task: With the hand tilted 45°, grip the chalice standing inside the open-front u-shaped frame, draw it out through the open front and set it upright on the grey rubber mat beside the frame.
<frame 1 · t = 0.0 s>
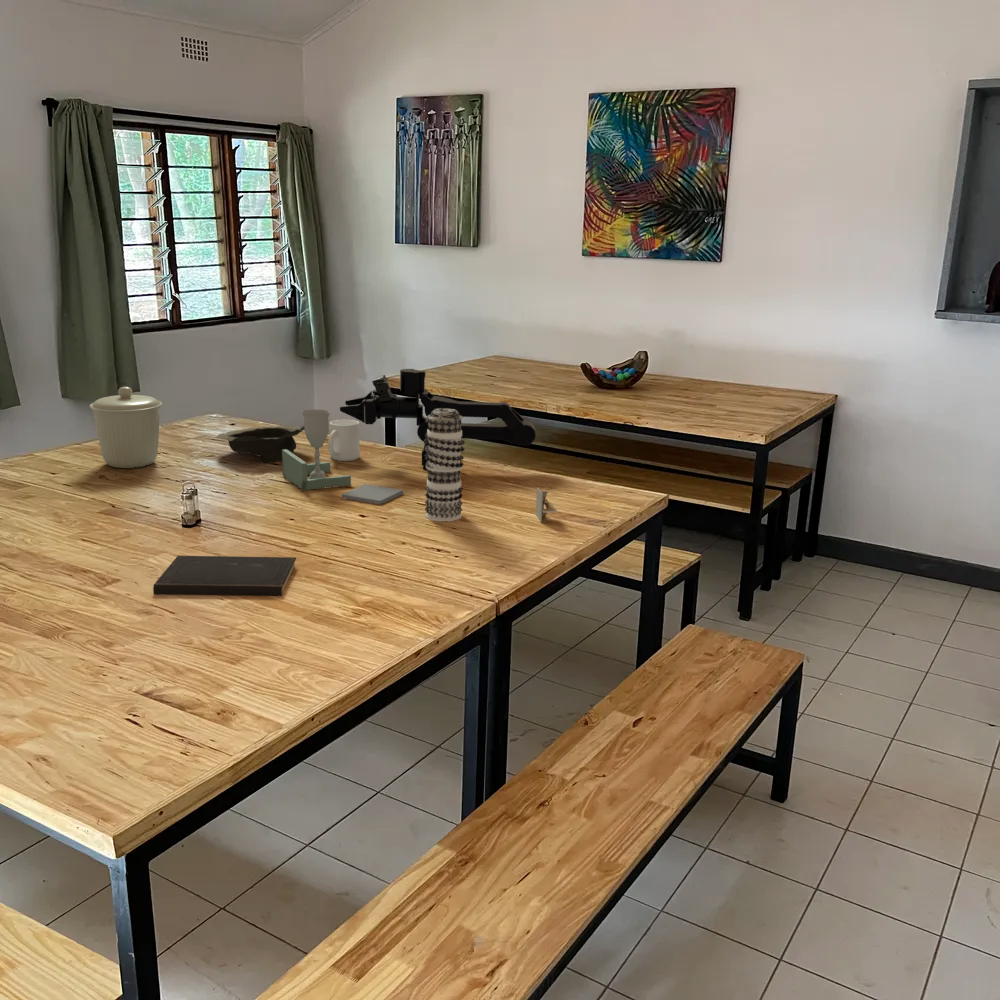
hand: (342, 405, 265), 17 cm above the table, tool horizontal, fingers open, 9 cm apart
rubber mat: (372, 496, 241), on the table
decorative candle: (443, 517, 227), on the table
grey angled bracket piece: (542, 522, 227), on the table
stone bowl: (261, 456, 277), on the table
chalice: (317, 481, 253), on the table
u-shaped frame: (317, 480, 253), on the table
canister: (131, 464, 264), on the table
hardcover book: (228, 583, 185), on the table
mug: (341, 460, 276), on the table
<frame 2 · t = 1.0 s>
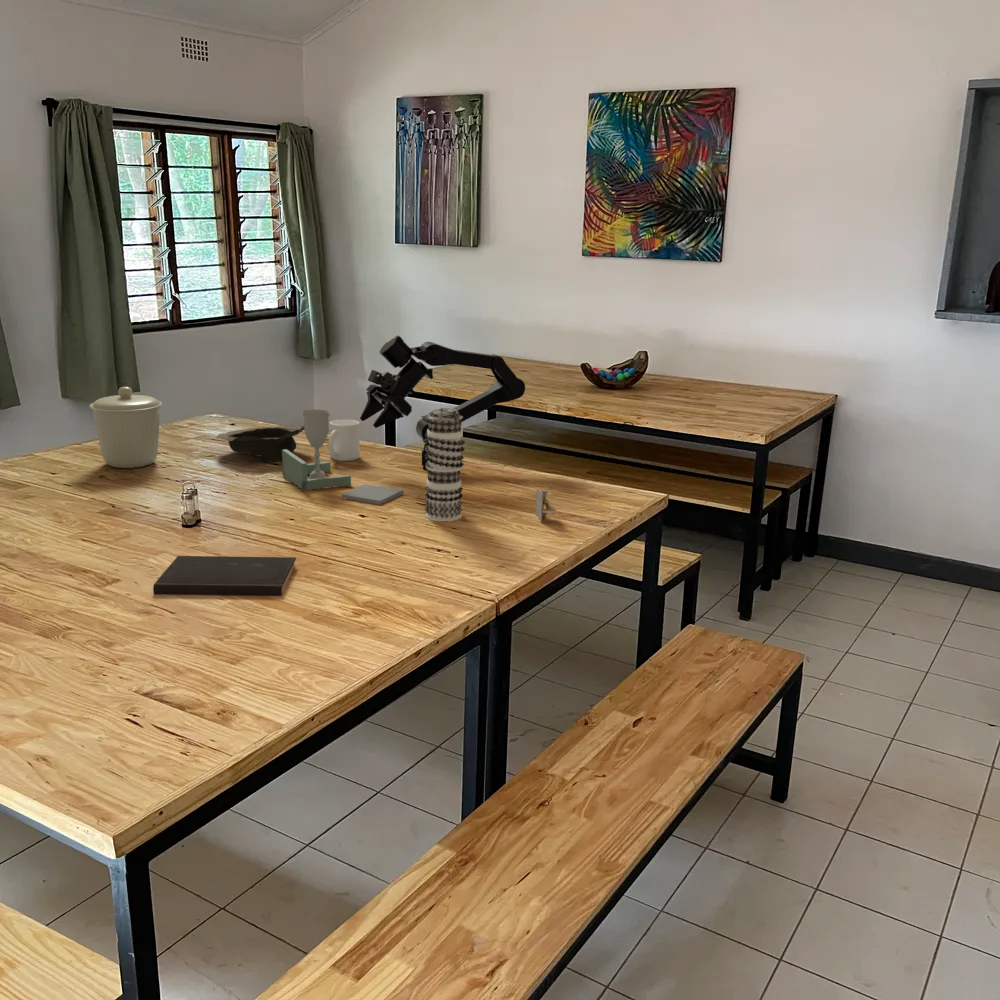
hand: (367, 423, 258), 14 cm above the table, tool tilted 45°, fingers open, 9 cm apart
nothing on the table moved.
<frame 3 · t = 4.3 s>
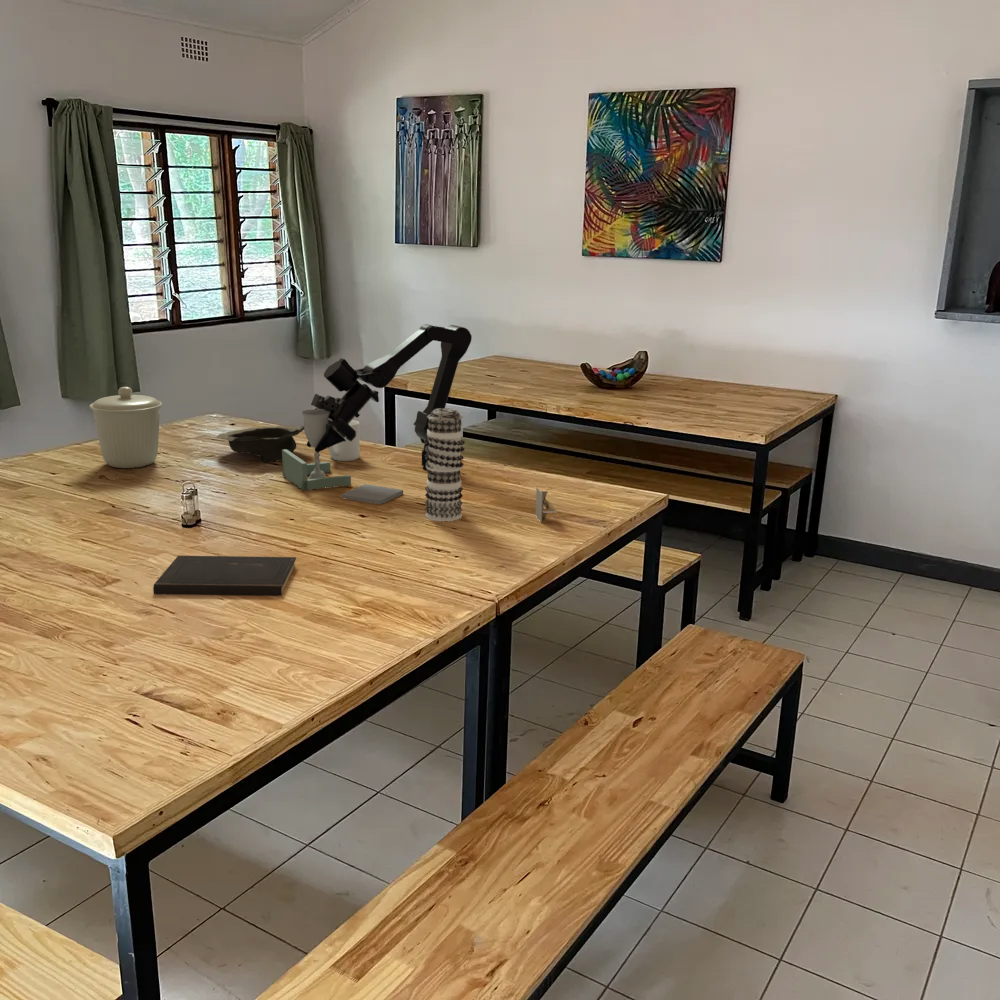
hand: (311, 448, 250), 9 cm above the table, tool tilted 45°, fingers closed on chalice, 6 cm apart
chalice: (317, 481, 253), on the table, touching gripper
everything else where it was.
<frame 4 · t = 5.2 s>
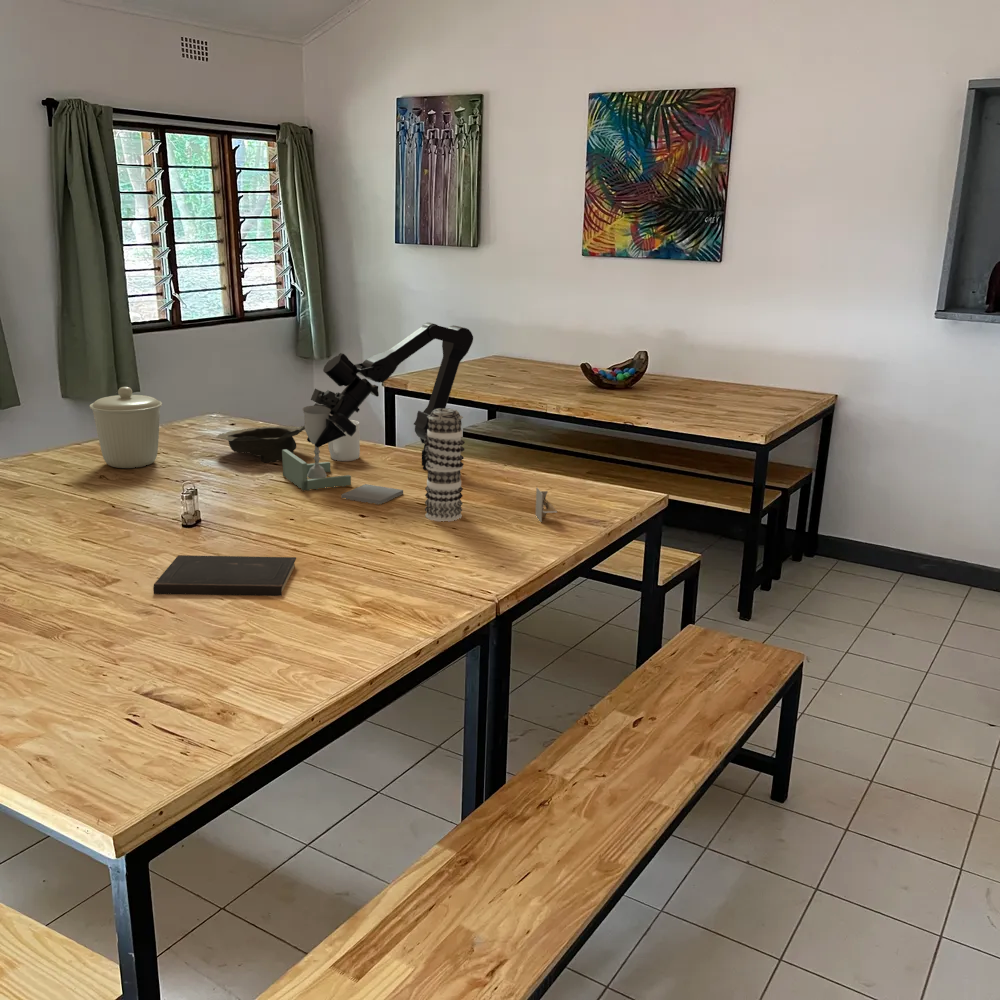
hand: (312, 443, 250), 10 cm above the table, tool tilted 45°, fingers closed on chalice, 6 cm apart
chalice: (316, 476, 255), point 1 cm above the table, touching gripper
everything else where it was.
when the fingers open (11 cm above the table, at t = 11.2 s): chalice stays where it is, resting on rubber mat.
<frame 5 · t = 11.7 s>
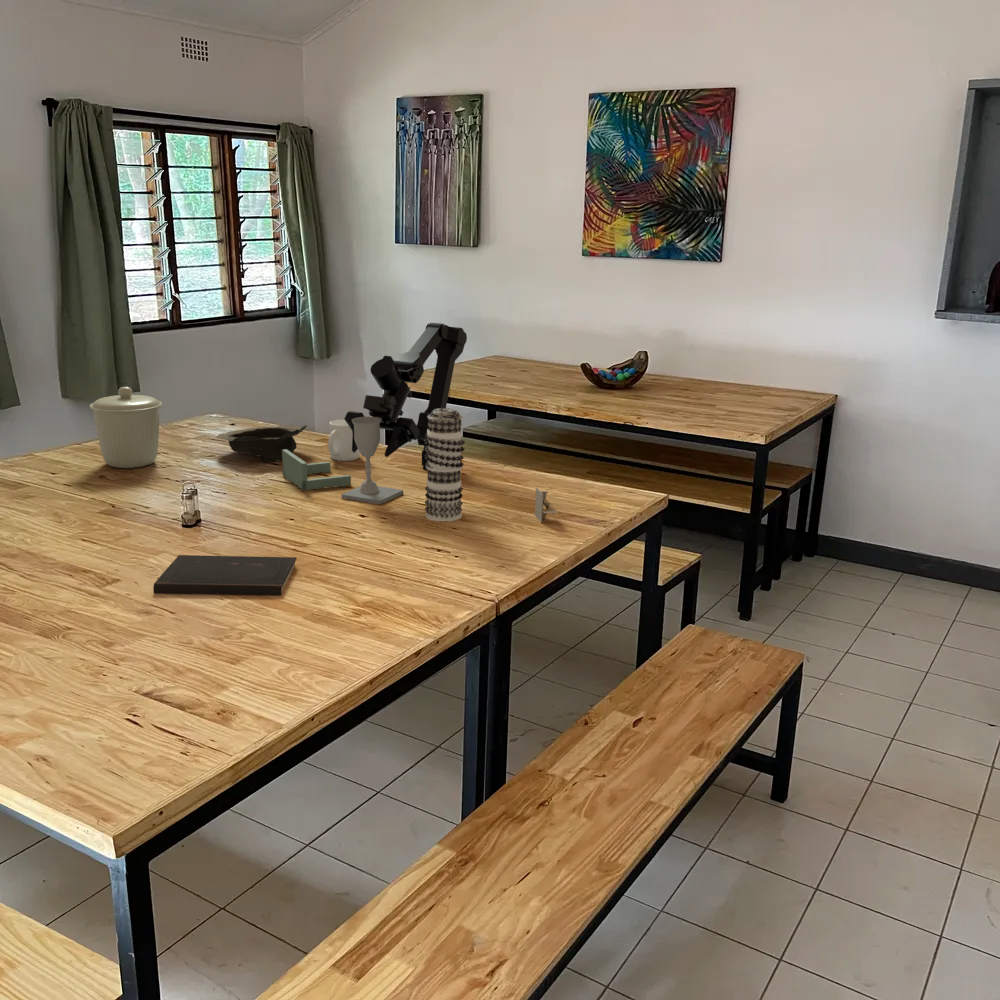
hand: (369, 453, 237), 11 cm above the table, tool tilted 45°, fingers open, 9 cm apart
chalice: (369, 491, 241), point 1 cm above the table, touching gripper, rubber mat
everything else where it was.
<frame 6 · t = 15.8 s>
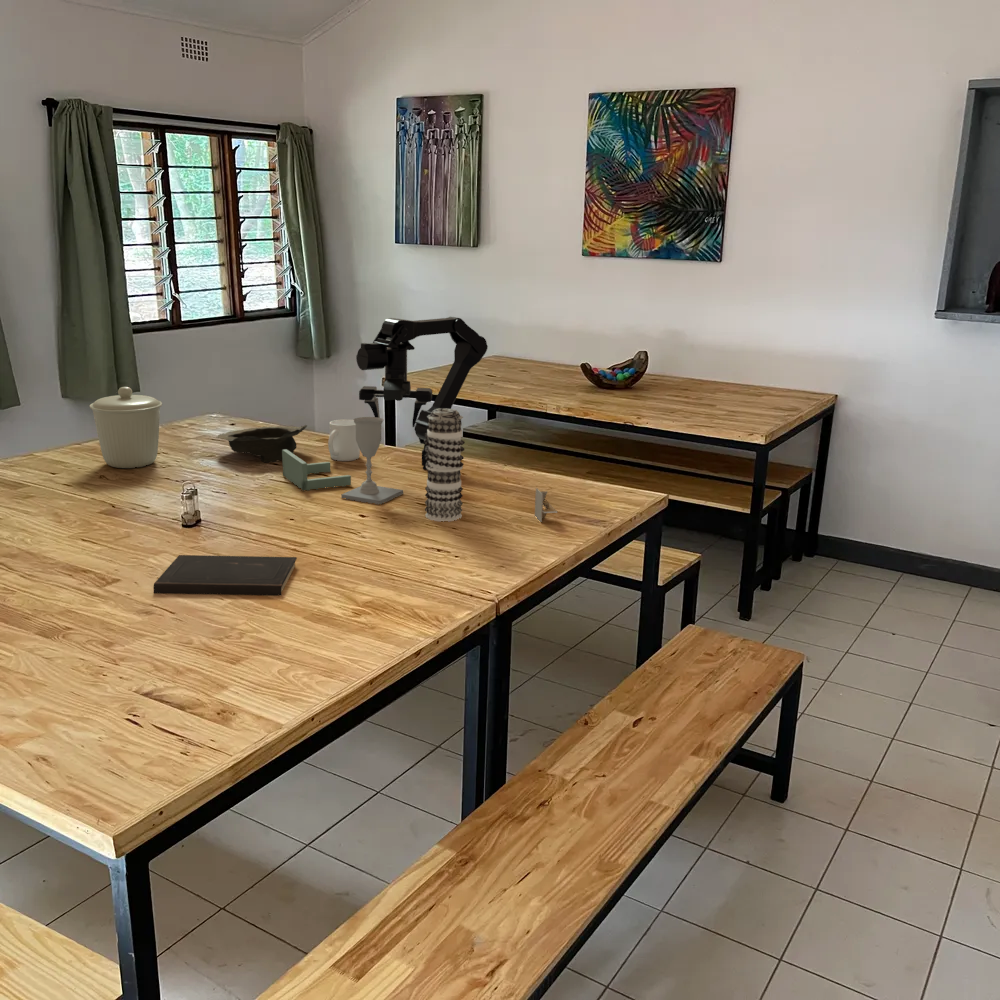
hand: (396, 426, 258), 13 cm above the table, tool pointing down, fingers open, 9 cm apart
chalice: (369, 491, 241), point 1 cm above the table, touching rubber mat
everything else where it was.
at the end: chalice inside the target area on the rubber mat (1.3 cm from its centre), point 0.8 cm above the rubber mat's base; chalice tilted 0°; the gripper is holding nothing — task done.
